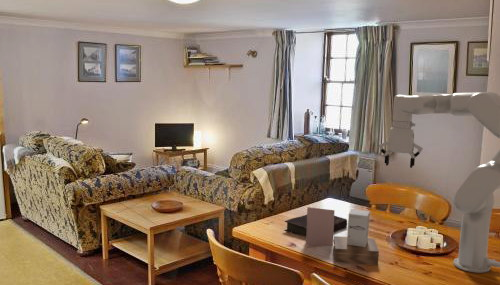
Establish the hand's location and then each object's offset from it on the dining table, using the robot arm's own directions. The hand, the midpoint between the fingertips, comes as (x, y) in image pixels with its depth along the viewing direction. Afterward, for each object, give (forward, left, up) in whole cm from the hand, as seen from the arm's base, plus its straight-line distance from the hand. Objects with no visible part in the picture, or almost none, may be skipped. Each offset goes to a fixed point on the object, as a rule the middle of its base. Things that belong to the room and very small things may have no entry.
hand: (399, 166), depth 198 cm
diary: (+36, -2, -34) cm, 49 cm away
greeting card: (+28, +18, -34) cm, 47 cm away
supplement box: (+11, +23, -28) cm, 38 cm away
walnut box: (+12, +23, -34) cm, 43 cm away
